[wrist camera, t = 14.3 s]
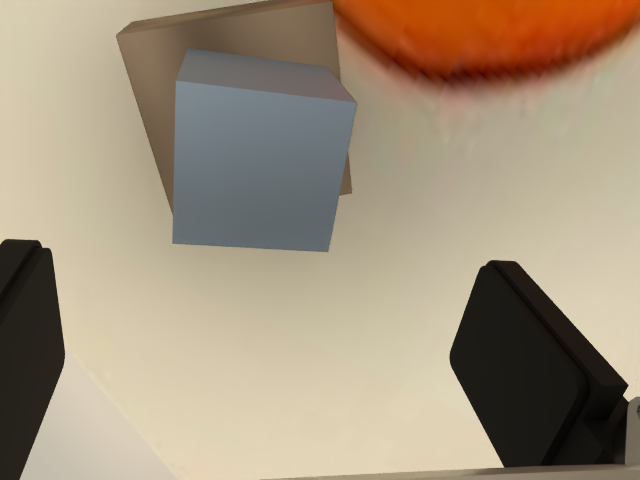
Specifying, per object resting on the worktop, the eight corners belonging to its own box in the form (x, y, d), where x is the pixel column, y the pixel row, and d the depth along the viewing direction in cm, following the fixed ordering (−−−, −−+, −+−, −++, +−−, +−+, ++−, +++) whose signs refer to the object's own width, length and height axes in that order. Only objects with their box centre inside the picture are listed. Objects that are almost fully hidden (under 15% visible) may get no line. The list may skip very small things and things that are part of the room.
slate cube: (327, 66, 22) (357, 102, 17) (307, 189, 25) (328, 252, 20) (188, 48, 21) (175, 80, 16) (184, 180, 24) (172, 243, 19)
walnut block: (316, -8, 25) (332, 1, 21) (335, 161, 30) (352, 193, 26) (132, 21, 24) (115, 35, 20) (182, 188, 29) (176, 226, 25)
